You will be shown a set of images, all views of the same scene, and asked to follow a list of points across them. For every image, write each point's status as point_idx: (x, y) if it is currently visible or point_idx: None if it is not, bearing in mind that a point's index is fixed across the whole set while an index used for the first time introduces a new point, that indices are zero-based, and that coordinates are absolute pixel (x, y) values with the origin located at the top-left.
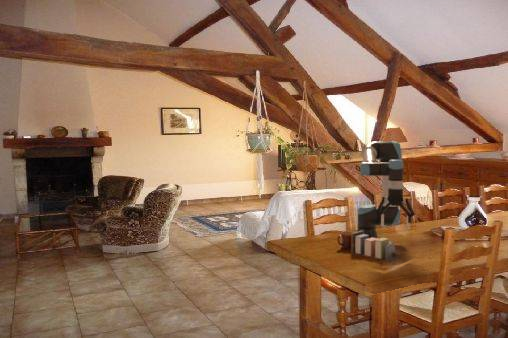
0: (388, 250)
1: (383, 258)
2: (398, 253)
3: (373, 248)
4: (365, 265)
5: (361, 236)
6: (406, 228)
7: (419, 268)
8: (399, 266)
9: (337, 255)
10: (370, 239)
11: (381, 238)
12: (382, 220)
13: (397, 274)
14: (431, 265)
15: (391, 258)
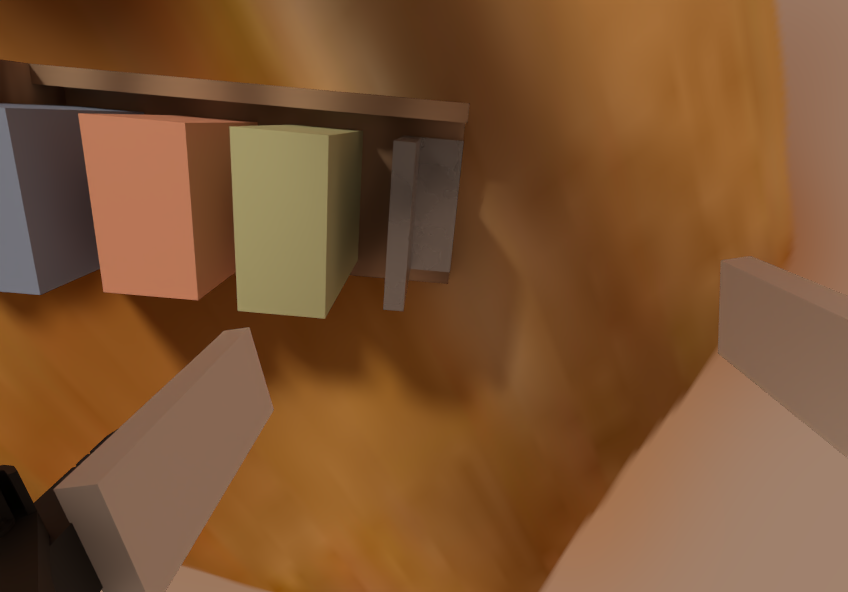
0: (408, 265)
1: (362, 231)
2: (455, 120)
3: (233, 233)
4: (322, 401)
5: (8, 249)
6: (724, 358)
7: (673, 232)
8: (526, 279)
9: (14, 308)
10: (140, 235)
11: (246, 187)
12: (226, 486)
13: (577, 445)
14: (747, 80)
15: (432, 226)
